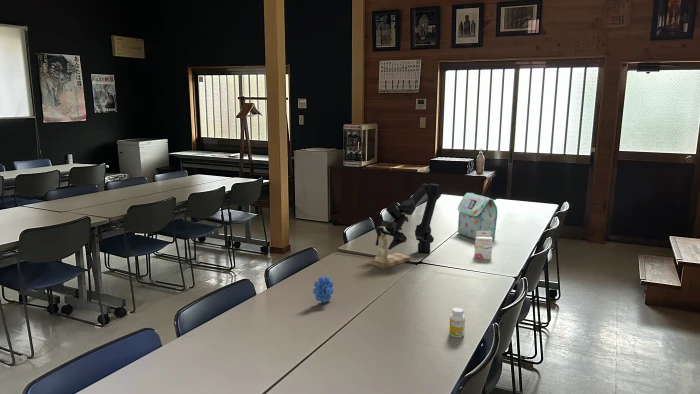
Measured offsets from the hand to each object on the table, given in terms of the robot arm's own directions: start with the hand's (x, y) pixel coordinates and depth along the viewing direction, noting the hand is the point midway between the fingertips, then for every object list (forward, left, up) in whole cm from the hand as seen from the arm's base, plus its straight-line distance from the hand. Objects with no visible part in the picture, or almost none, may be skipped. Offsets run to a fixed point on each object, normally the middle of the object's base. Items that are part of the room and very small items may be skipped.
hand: (382, 247), depth 263 cm
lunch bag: (-49, -68, -10) cm, 84 cm away
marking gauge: (0, 0, -7) cm, 7 cm away
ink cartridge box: (-52, -24, -10) cm, 58 cm away
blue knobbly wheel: (+15, +56, -10) cm, 59 cm away
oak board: (-4, -5, -9) cm, 11 cm away
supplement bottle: (-40, +73, -10) cm, 84 cm away
